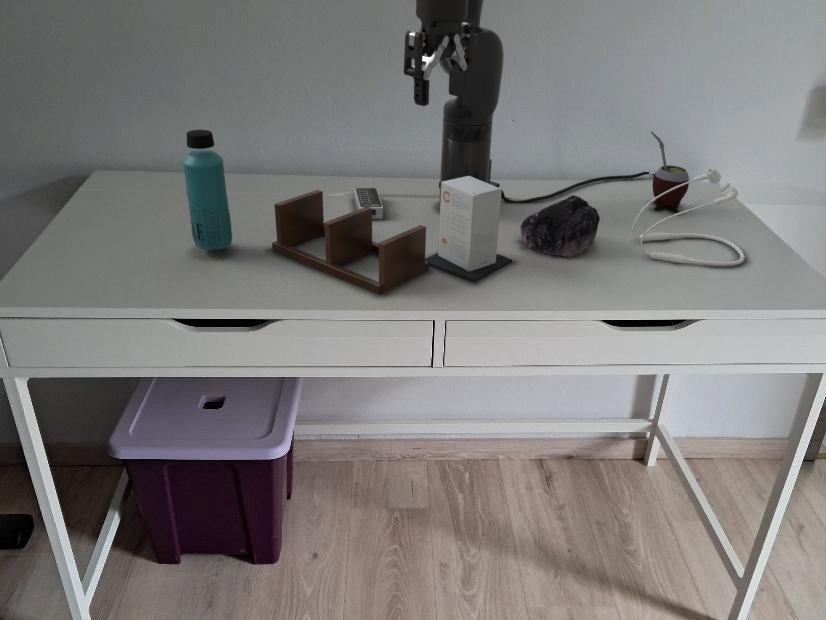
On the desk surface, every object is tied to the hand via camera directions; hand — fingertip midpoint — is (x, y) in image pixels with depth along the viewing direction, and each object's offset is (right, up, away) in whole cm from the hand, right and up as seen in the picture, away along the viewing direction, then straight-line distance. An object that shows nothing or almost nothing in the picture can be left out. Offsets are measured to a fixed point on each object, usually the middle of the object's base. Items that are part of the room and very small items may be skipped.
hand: (438, 100), depth 122 cm
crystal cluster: (+21, -19, +21) cm, 35 cm away
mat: (+5, -23, +13) cm, 27 cm away
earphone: (+45, -20, +22) cm, 53 cm away
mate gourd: (+45, -8, +40) cm, 61 cm away
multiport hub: (-14, -10, +32) cm, 36 cm away
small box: (+5, -23, +12) cm, 26 cm away
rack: (-15, -23, +11) cm, 30 cm away
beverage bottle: (-38, -22, +12) cm, 45 cm away
